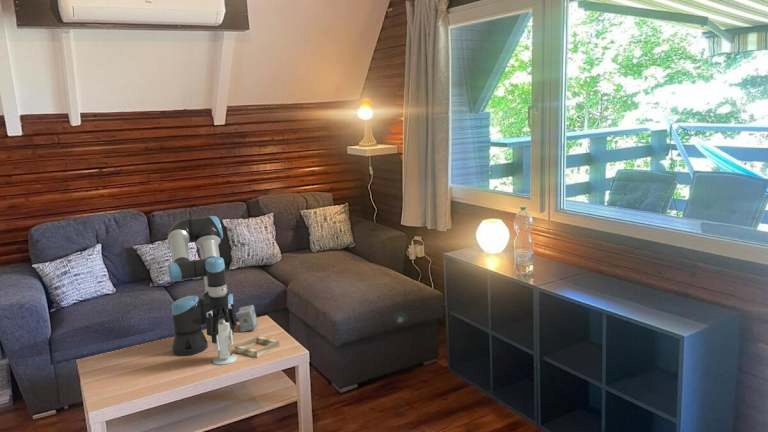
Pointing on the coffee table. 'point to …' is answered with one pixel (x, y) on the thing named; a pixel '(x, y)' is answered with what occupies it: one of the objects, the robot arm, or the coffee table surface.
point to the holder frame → (256, 353)
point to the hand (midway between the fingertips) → (223, 346)
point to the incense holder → (247, 318)
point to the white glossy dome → (225, 360)
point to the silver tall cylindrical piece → (224, 339)
